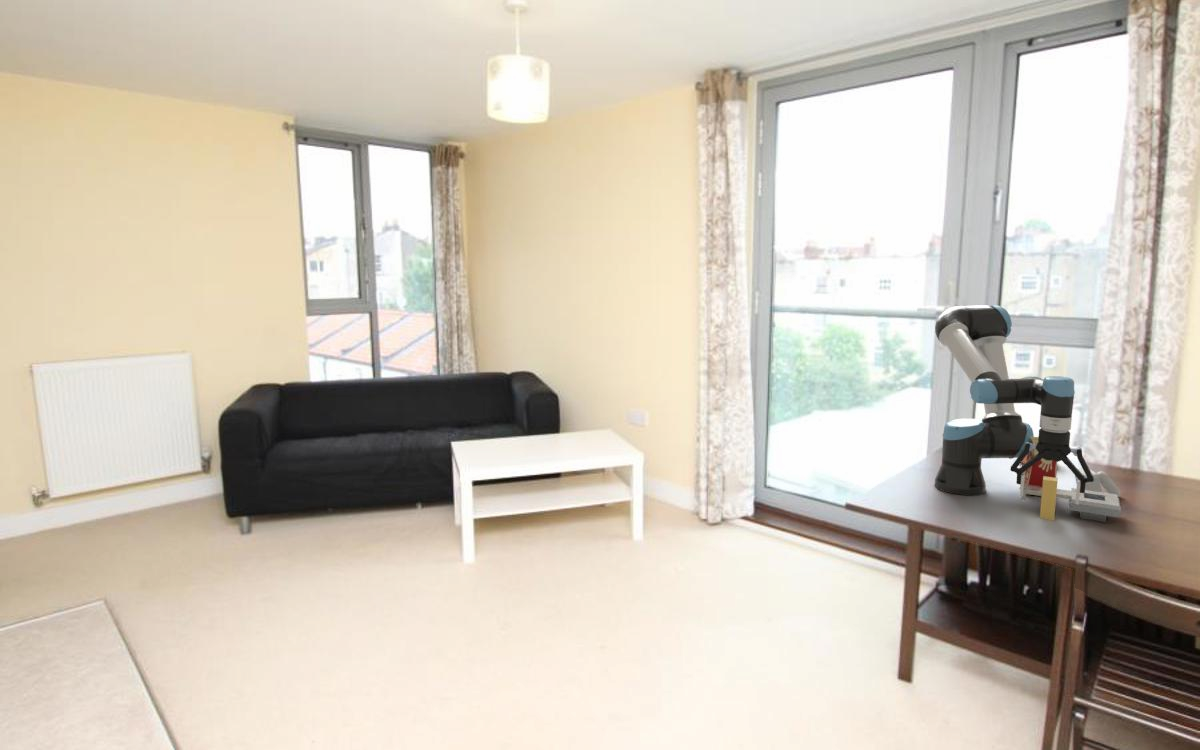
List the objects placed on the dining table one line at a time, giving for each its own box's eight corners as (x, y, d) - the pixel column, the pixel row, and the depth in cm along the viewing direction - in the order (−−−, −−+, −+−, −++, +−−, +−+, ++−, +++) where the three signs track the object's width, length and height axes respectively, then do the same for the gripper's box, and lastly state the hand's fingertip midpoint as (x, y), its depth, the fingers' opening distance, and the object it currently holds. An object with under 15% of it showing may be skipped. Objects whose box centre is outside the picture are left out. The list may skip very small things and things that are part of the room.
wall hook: (1128, 499, 204) (1123, 469, 203) (1092, 505, 206) (1086, 476, 205) (1114, 491, 211) (1109, 462, 210) (1079, 497, 214) (1073, 468, 213)
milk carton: (1048, 487, 216) (1060, 431, 211) (1054, 499, 208) (1066, 440, 203) (1016, 482, 220) (1027, 427, 214) (1020, 493, 212) (1032, 436, 206)
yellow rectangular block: (1039, 517, 194) (1043, 479, 192) (1040, 514, 197) (1043, 476, 195) (1054, 520, 192) (1057, 481, 190) (1054, 516, 195) (1057, 478, 193)
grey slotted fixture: (1019, 511, 199) (1020, 492, 198) (1021, 499, 209) (1023, 480, 208) (1119, 527, 185) (1121, 507, 184) (1117, 513, 195) (1119, 494, 194)
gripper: (1003, 427, 194) (998, 495, 197) (1109, 438, 179) (1101, 510, 183) (1005, 422, 200) (1000, 487, 203) (1108, 431, 185) (1101, 502, 189)
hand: (1048, 498), depth 193 cm, fingers open, 13 cm apart
